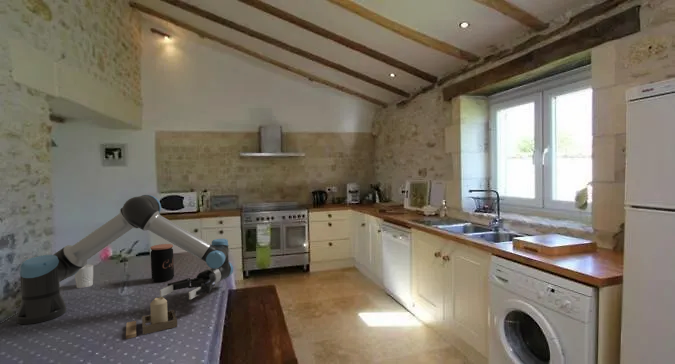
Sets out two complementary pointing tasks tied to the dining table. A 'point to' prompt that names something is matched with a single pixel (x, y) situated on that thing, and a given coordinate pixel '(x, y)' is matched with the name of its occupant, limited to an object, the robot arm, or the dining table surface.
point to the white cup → (84, 277)
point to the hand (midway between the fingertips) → (174, 294)
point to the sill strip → (131, 329)
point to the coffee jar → (162, 262)
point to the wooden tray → (161, 325)
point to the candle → (158, 310)
